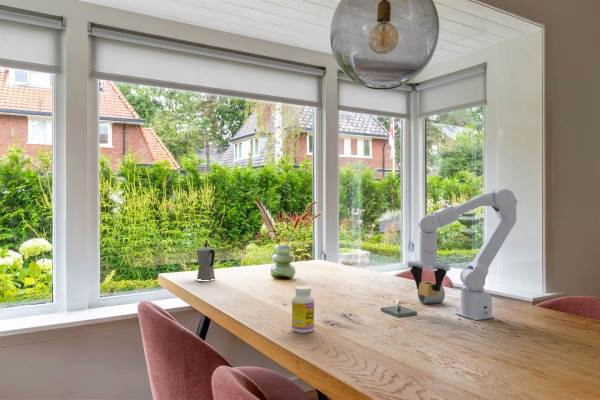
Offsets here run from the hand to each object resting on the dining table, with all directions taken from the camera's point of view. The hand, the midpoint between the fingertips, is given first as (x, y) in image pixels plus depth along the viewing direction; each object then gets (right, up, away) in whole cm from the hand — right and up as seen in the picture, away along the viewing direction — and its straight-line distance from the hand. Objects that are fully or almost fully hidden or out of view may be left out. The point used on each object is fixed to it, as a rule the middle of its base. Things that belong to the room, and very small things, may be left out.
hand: (428, 289), depth 154 cm
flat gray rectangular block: (-10, -8, +2) cm, 13 cm away
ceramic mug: (+5, -9, +18) cm, 20 cm away
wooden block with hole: (0, -2, 0) cm, 2 cm away
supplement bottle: (-43, -9, -19) cm, 48 cm away
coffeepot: (-90, -9, +66) cm, 111 cm away
